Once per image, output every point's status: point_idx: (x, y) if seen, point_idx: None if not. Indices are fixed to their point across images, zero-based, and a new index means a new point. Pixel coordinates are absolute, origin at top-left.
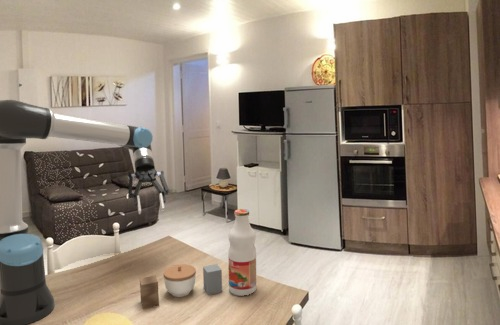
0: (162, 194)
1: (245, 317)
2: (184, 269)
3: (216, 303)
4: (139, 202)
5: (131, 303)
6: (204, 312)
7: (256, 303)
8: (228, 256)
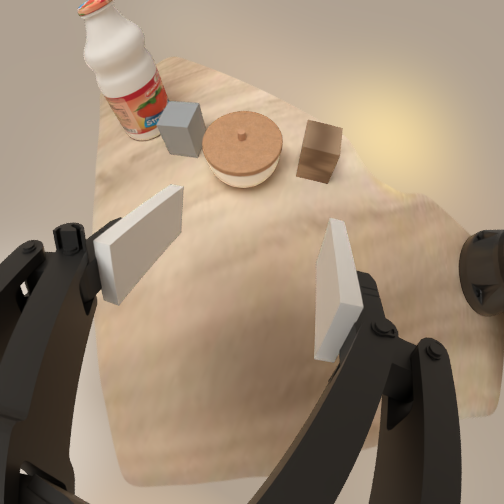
0: (92, 252)
1: (204, 71)
2: (229, 136)
3: (212, 108)
4: (340, 251)
5: (345, 188)
6: (243, 99)
7: (167, 87)
8: (148, 79)
